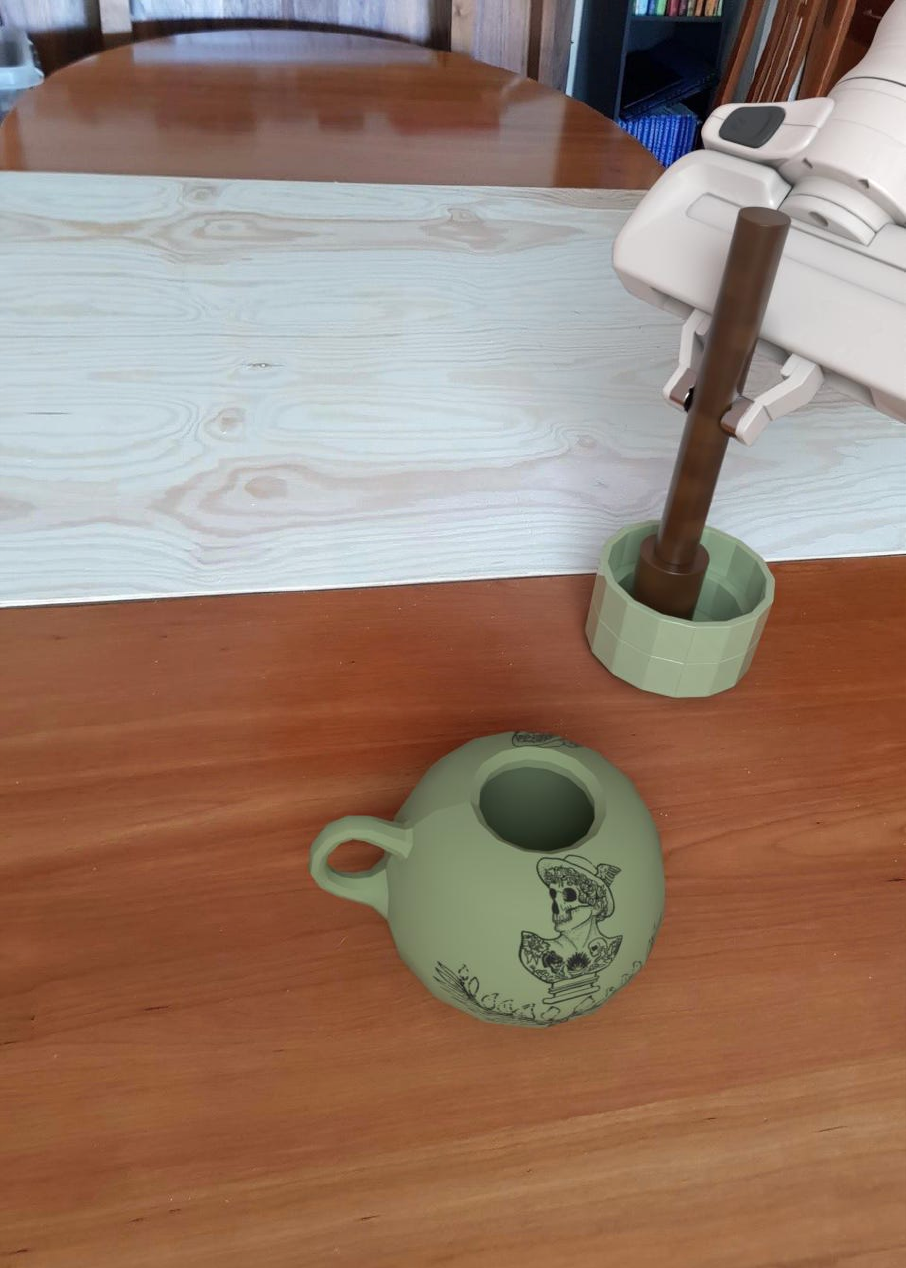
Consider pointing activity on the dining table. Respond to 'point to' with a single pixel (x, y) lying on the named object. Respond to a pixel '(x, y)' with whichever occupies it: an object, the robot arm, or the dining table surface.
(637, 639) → the bowl
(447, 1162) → the dining table surface
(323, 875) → the mug
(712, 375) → the wooden pestle
